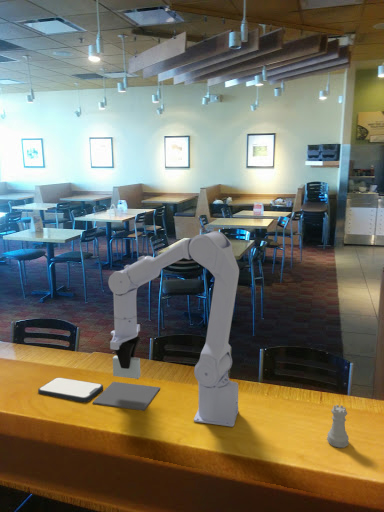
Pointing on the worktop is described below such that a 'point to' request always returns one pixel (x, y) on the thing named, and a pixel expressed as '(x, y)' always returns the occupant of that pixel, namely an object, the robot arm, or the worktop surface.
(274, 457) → the worktop surface
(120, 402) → the mat
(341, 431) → the rook chess piece
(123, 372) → the block
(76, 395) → the smartphone
